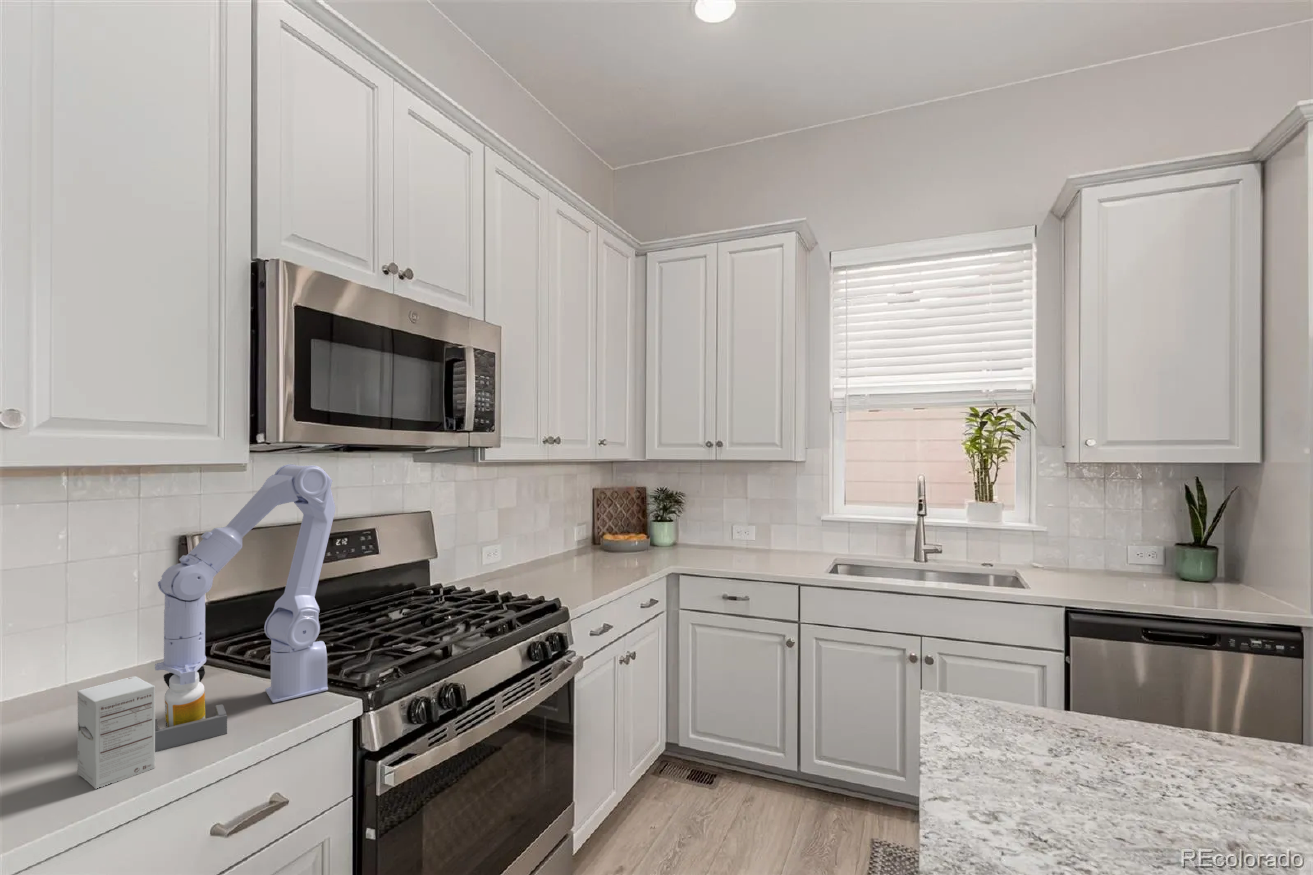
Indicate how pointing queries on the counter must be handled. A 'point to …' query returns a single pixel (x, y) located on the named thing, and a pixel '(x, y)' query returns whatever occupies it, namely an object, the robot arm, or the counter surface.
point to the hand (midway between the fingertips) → (184, 713)
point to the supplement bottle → (184, 701)
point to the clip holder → (191, 730)
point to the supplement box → (116, 730)
